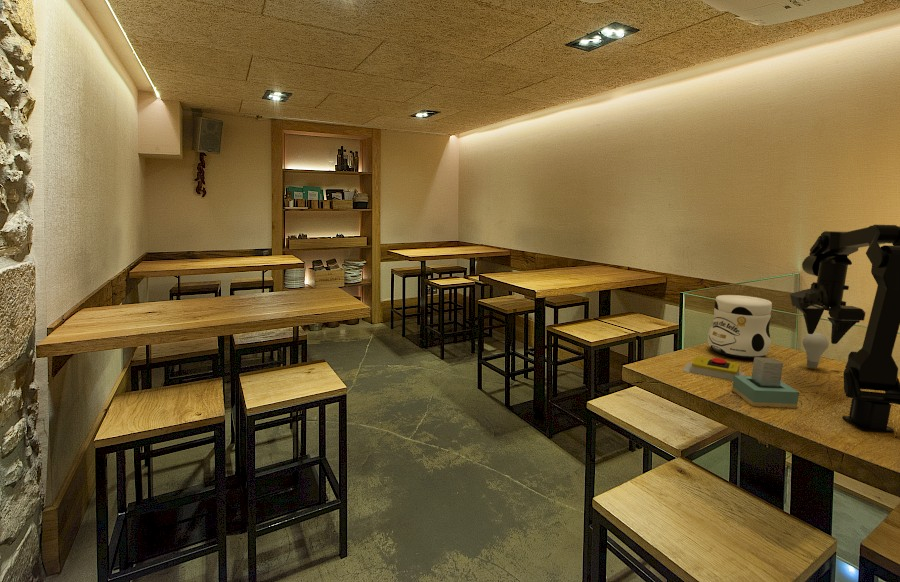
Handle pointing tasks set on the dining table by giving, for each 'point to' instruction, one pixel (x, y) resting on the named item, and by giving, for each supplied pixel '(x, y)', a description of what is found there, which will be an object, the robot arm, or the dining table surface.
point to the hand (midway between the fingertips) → (821, 338)
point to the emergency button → (714, 368)
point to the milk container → (740, 326)
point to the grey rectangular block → (766, 372)
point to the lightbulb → (815, 348)
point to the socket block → (765, 393)
